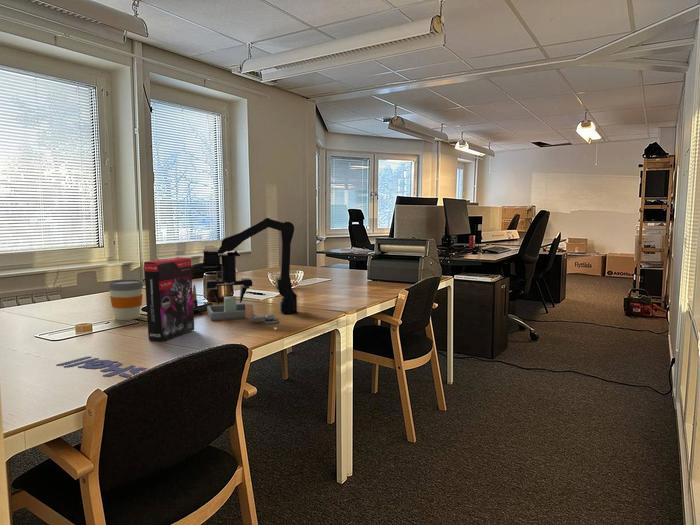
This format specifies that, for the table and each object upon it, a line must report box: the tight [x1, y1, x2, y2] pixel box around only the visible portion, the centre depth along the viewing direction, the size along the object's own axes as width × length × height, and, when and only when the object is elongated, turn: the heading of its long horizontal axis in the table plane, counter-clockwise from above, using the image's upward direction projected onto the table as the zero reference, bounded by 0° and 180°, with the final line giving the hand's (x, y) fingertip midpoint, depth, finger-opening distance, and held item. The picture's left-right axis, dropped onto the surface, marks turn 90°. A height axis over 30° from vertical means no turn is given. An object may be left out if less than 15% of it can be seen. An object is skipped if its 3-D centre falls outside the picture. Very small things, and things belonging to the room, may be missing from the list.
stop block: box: [223, 295, 237, 312], centre depth 203 cm, size 4×4×7 cm
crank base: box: [260, 317, 279, 331], centre depth 187 cm, size 7×16×1 cm, turn 22°
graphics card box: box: [143, 256, 195, 342], centre depth 169 cm, size 17×7×27 cm, turn 159°
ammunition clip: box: [192, 283, 199, 308], centre depth 206 cm, size 11×2×12 cm, turn 143°
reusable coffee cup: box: [108, 278, 144, 321], centre depth 196 cm, size 13×13×15 cm
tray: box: [206, 302, 248, 322], centre depth 203 cm, size 17×16×3 cm
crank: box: [244, 303, 275, 322], centre depth 190 cm, size 12×4×6 cm, turn 112°
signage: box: [55, 356, 149, 379], centre depth 135 cm, size 28×1×10 cm
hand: (229, 303), depth 203 cm, fingers open, 9 cm apart
